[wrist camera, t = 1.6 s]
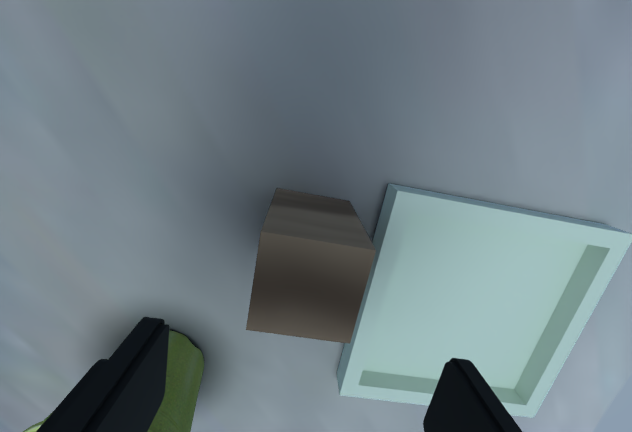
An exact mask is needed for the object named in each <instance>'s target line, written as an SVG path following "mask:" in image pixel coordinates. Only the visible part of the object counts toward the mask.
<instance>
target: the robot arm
mask: <svg viewBox="0 0 632 432" xmlns="http://www.w3.org/2000/svg"><path fill="white" fill-rule="evenodd" d="M168 342H169V325H165V324H164V320H163V319H157V318H150V317H144V318H143V319H141V321H140V322H139V323H138V324H137V326H136V327H135V328H134V329H133V330H132V332H131V333H130V334H129V335H128V336H127V338H126V339H125V340H124V341H123V343H122V344H121V345H120V346H119V347H118V349H117V350H116V351H115V352H114V354H113V355H112V356H111V357H110V358H109V360H106V359H101V360H99V361H97V362H96V363H95V364H94V365H93V366H92V368H91V369H90V370H89V371H88V372H87V373H86V374H85V376H84V377H83V378H82V379H81V380H80V381H79V383H78V384H77V385H76V386H75V387H74V388H73V389H72V391H71V392H70V393H69V394H68V395H67V396H66V398H65V399H64V400H63V401H62V402H61V403H60V404H59V406H58V407H57V408H56V409H55V410H54V411H53V413H52V414H51V415H50V416H49V417H48V418H47V420H46V421H45V422H44V423H43V424H42V425H41V426H40V428H39V429H38V430H37V431H36V432H147V431H148V429H149V427H150V425H151V423H152V421H153V419H154V417H155V415H156V413H157V411H158V409H159V407H160V405H161V403H162V401H163V398H164V394H165V385H166V371H167V357H168ZM423 425H424V431H425V432H522V431H521V429H520V428H519V427H518V425H517V424H516V422H515V421H514V420H513V418H512V417H511V415H510V414H509V413H508V411H507V410H506V408H505V407H504V406H503V404H502V403H501V401H500V400H499V399H498V397H497V396H496V395H495V393H494V392H493V390H492V389H491V388H490V386H489V385H488V383H487V382H486V381H485V379H484V378H483V376H482V375H481V374H480V372H479V371H478V370H477V368H476V367H475V365H474V364H473V363H472V362H471V361H470V360H466V359H459V358H452V359H450V361H449V362H446V363H445V365H444V368H443V370H442V373H441V376H440V378H439V381H438V384H437V386H436V389H435V392H434V394H433V397H432V399H431V402H430V405H429V407H428V410H427V413H426V415H425V418H424V423H423Z"/></svg>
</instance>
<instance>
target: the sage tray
mask: <svg viewBox="0 0 632 432" xmlns="http://www.w3.org/2000/svg"><path fill="white" fill-rule="evenodd" d="M631 242H632V234H631V233H629V232H626V231H623V230H620V229H617V228H615V227H612V226H609V225H606V224H602V223H597V222H591V221H586V220H581V219H575V218H570V217H565V216H559V215H554V214H549V213H544V212H538V211H533V210H528V209H522V208H517V207H512V206H506V205H501V204H496V203H491V202H485V201H480V200H475V199H469V198H464V197H459V196H453V195H448V194H443V193H438V192H432V191H427V190H422V189H416V188H411V187H406V186H400V185H395V184H390V183H388V187H387V191H386V194H385V198H384V202H383V205H382V209H381V213H380V216H379V220H378V224H377V227H376V231H375V235H374V238H373V242H372V244H373V246H374V247H375V249H376V252H375V256H374V260H373V263H372V267H371V270H370V274H369V278H368V281H367V285H366V288H365V292H364V295H363V299H362V303H361V306H360V310H359V313H358V317H357V320H356V324H355V328H354V331H353V335H352V338H351V342H350V344H349V343H345V344H344V348H343V352H342V355H341V359H340V363H339V366H338V370H337V380H338V388H339V395H342V396H350V397H359V398H367V399H376V400H385V401H393V402H402V403H411V404H419V405H428V406H429V405H430V402H431V399H432V397H433V394H434V392H435V389H436V386H437V384H438V381H439V378H440V376H441V373H442V370H443V368H444V365H445V363H446V362H449V361H450V359H452V358H459V359H466V360H470V361H471V362H472V363H473V364H474V365H475V367H476V368H477V370H478V371H479V372H480V374H481V375H482V376H483V378H484V379H485V381H486V382H487V383H488V385H489V386H490V388H491V389H492V390H493V392H494V393H495V395H496V396H497V397H498V399H499V400H500V401H501V403H502V404H503V406H504V407H505V408H506V410H507V411H508V413H509V414H510V415H514V416H523V417H532V418H534V417H535V415H536V413H537V411H538V409H539V408H540V406H541V404H542V402H543V400H544V399H545V397H546V395H547V393H548V391H549V390H550V388H551V386H552V384H553V382H554V381H555V379H556V377H557V375H558V373H559V372H560V370H561V368H562V366H563V364H564V363H565V361H566V359H567V357H568V355H569V354H570V352H571V350H572V348H573V346H574V345H575V343H576V341H577V339H578V337H579V336H580V334H581V332H582V330H583V328H584V327H585V325H586V323H587V321H588V319H589V318H590V316H591V314H592V312H593V310H594V309H595V307H596V305H597V303H598V301H599V300H600V298H601V296H602V294H603V292H604V291H605V289H606V287H607V285H608V283H609V282H610V280H611V278H612V276H613V274H614V273H615V271H616V269H617V267H618V265H619V264H620V262H621V260H622V258H623V256H624V255H625V253H626V251H627V249H628V247H629V246H630V244H631Z"/></svg>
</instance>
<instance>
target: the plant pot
mask: <svg viewBox="0 0 632 432" xmlns="http://www.w3.org/2000/svg"><path fill="white" fill-rule="evenodd" d="M203 370H204V358H203V355H202V352H201V351H200V349H198V348H196V347H195V346H194V345H193V344H192V343H191V342H190V341H189V339H188V338H187V337H186V336H184V335H182V334H180V333H177V332H174V331H170V330H169V342H168V357H167V371H166V385H165V394H164V398H163V401H162V403H161V405H160V407H159V409H158V411H157V413H156V415H155V417H154V419H153V421H152V423H151V425H150V427H149V429H148V431H147V432H190V431H191V426H192V421H193V416H194V411H195V406H196V401H197V396H198V392H199V387H200V383H201V378H202V374H203ZM52 413H53V412H52ZM52 413H51V414H52ZM51 414H50V415H51ZM50 415H49V416H50ZM49 416H48V417H49ZM48 417H47V418H48ZM47 418H46V419H45V420H44V421H42V422H39V423H37V424H35V425H33V426H31V427H29V428H28V429H26V430H25V431H23V432H36V431H37V430H38V429H39V428H40V426H41V425H42V424H43V423H44V422H45V421H46V420H47Z"/></svg>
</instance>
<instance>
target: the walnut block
mask: <svg viewBox="0 0 632 432" xmlns="http://www.w3.org/2000/svg"><path fill="white" fill-rule="evenodd" d="M375 252H376V249H375V247H374V246H373V244H372V242H371V240H370V238H369V236H368V234H367V233H366V231H365V229H364V227H363V225H362V223H361V221H360V220H359V218H358V216H357V214H356V212H355V210H354V209H353V207H352V205H351V203H350V201H346V200H341V199H335V198H330V197H324V196H319V195H313V194H308V193H302V192H296V191H291V190H285V189H280V188H277V189H276V191H275V194H274V197H273V199H272V202H271V205H270V208H269V210H268V213H267V216H266V218H265V221H264V224H263V227H262V229H261V233H260V240H259V246H258V253H257V260H256V267H255V273H254V280H253V287H252V293H251V300H250V307H249V313H248V320H247V327H246V330H251V331H259V332H266V333H274V334H281V335H289V336H296V337H304V338H311V339H319V340H326V341H334V342H341V343H349V344H350V342H351V338H352V335H353V331H354V328H355V324H356V320H357V317H358V313H359V310H360V306H361V303H362V299H363V295H364V292H365V288H366V285H367V281H368V278H369V274H370V270H371V267H372V263H373V260H374V256H375Z"/></svg>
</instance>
